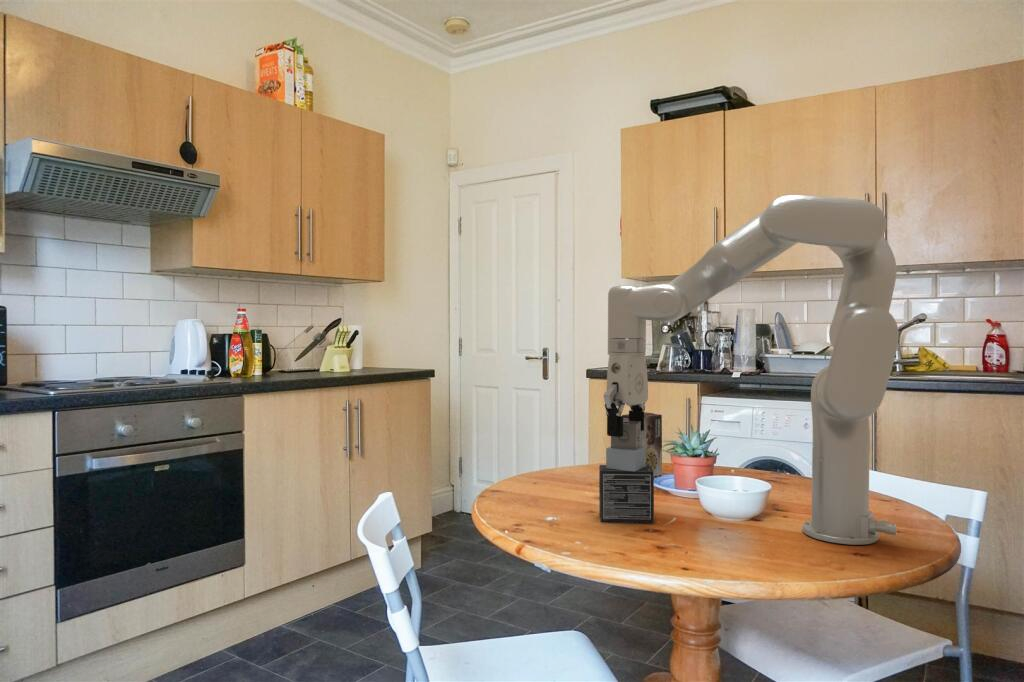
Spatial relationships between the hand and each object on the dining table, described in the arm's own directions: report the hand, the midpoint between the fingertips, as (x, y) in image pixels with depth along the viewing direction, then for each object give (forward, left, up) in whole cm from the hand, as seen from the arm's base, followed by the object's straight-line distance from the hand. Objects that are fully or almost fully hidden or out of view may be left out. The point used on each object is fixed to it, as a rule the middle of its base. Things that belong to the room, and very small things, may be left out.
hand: (626, 433), depth 135 cm
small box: (0, 0, -17) cm, 17 cm away
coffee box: (+14, -39, -17) cm, 45 cm away
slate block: (0, 0, -7) cm, 7 cm away
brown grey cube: (0, 0, -3) cm, 3 cm away
